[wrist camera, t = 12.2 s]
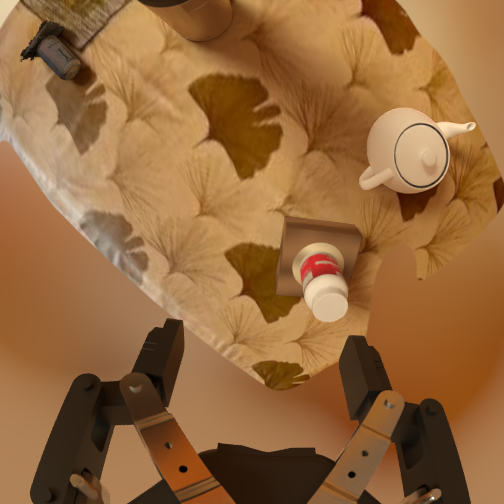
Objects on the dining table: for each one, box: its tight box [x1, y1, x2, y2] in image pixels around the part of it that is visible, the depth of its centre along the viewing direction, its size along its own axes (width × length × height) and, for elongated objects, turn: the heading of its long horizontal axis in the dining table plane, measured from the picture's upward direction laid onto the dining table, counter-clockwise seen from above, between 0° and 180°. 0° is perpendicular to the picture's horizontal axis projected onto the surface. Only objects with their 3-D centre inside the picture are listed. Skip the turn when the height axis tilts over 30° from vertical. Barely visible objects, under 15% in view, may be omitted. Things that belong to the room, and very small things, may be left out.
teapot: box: [359, 108, 476, 193], centre depth 38 cm, size 22×14×11 cm, turn 124°
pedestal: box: [275, 216, 362, 297], centre depth 49 cm, size 12×12×5 cm
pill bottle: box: [300, 251, 348, 322], centre depth 42 cm, size 6×6×11 cm
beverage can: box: [21, 20, 81, 80], centre depth 34 cm, size 9×8×12 cm
